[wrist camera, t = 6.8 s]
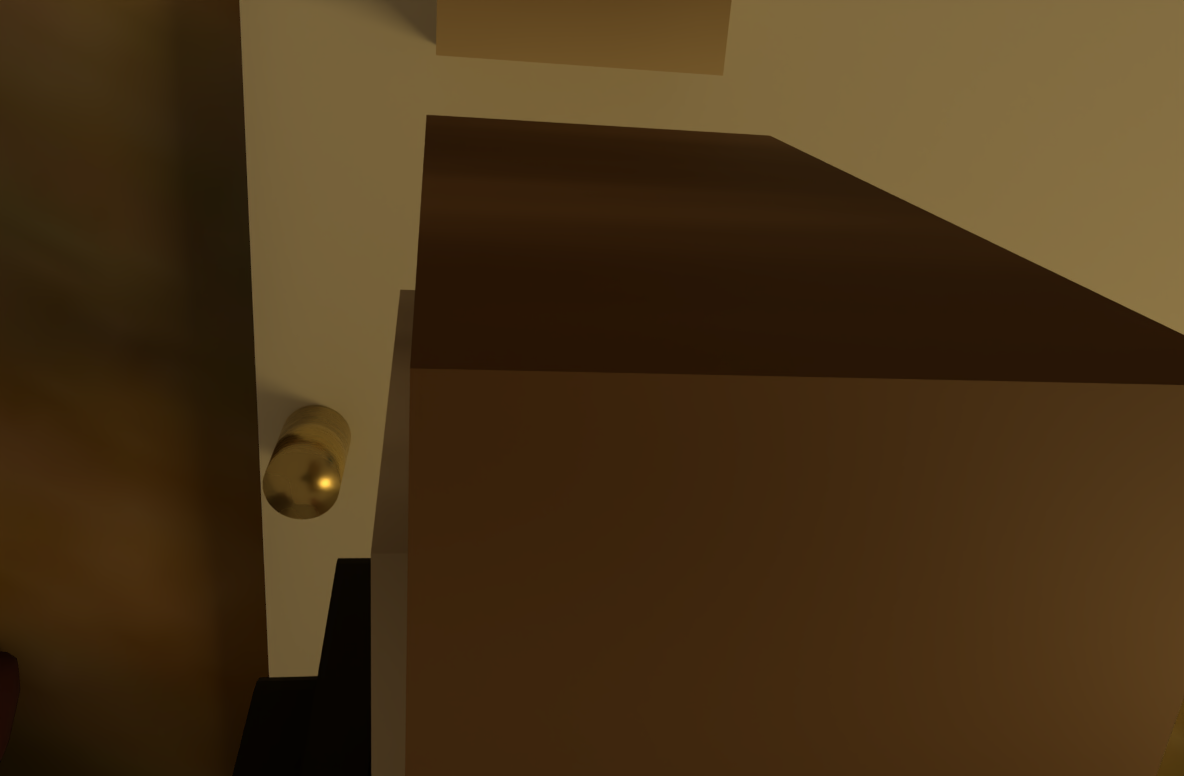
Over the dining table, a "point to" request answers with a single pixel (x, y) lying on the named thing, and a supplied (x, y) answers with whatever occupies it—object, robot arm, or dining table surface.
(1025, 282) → the wooden block
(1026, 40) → the wall panel
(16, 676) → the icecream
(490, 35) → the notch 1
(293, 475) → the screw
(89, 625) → the dining table surface
